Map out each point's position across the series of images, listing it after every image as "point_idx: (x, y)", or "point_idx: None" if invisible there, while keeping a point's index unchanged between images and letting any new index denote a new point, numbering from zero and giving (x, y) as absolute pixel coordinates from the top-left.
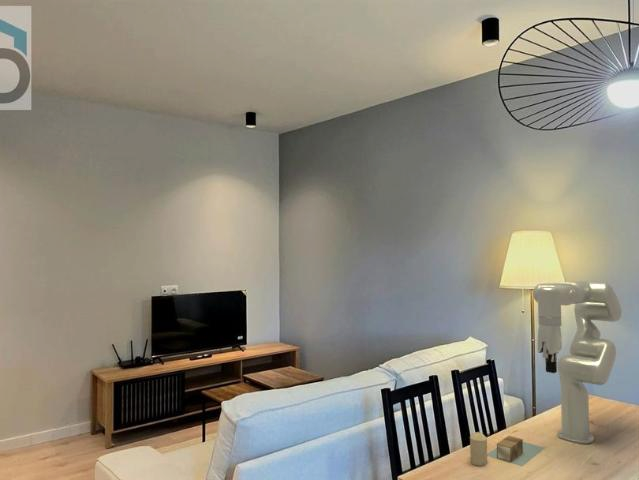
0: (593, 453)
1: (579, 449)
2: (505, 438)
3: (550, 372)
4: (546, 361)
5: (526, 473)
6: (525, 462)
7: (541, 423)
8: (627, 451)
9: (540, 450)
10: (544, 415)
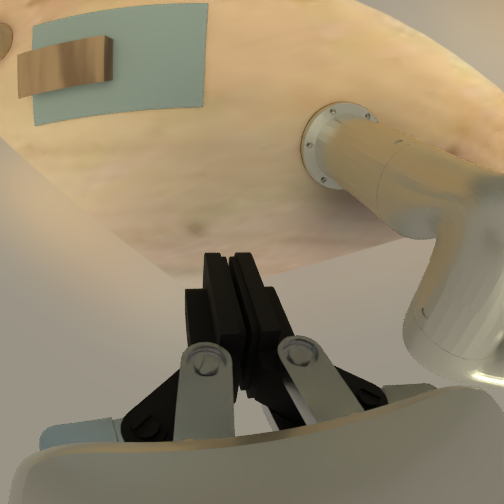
0: (259, 207)
1: (265, 175)
2: (71, 43)
3: (203, 287)
4: (219, 336)
5: (19, 148)
6: (60, 117)
7: (396, 51)
8: (317, 253)
9: (170, 105)
10: (447, 55)
